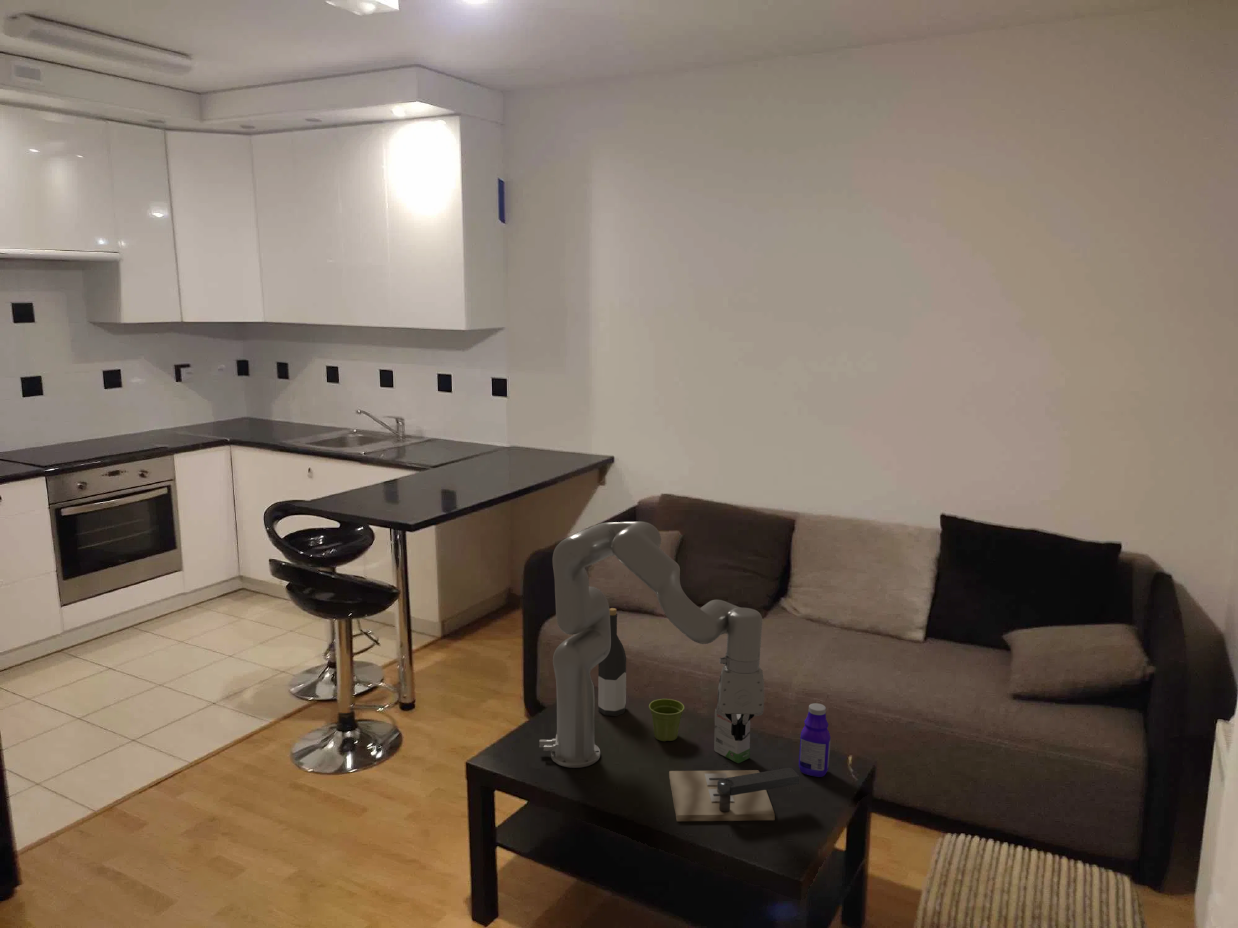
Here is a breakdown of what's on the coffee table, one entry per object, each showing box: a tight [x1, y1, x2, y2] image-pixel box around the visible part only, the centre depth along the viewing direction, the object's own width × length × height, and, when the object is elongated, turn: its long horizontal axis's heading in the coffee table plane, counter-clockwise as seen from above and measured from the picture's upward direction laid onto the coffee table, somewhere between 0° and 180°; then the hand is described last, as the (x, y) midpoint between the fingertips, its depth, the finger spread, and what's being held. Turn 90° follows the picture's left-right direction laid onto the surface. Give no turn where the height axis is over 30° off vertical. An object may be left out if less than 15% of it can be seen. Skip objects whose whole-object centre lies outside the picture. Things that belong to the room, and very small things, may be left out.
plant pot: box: [648, 698, 685, 742], centre depth 237 cm, size 9×9×9 cm
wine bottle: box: [597, 607, 627, 717], centre depth 250 cm, size 8×8×30 cm
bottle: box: [798, 703, 832, 778], centre depth 219 cm, size 7×6×17 cm
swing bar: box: [717, 766, 800, 796], centre depth 202 cm, size 4×19×2 cm, turn 107°
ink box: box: [713, 709, 751, 764], centre depth 227 cm, size 9×5×12 cm, turn 39°
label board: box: [668, 769, 776, 822], centre depth 208 cm, size 22×19×6 cm
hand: (737, 737), depth 204 cm, fingers closed
